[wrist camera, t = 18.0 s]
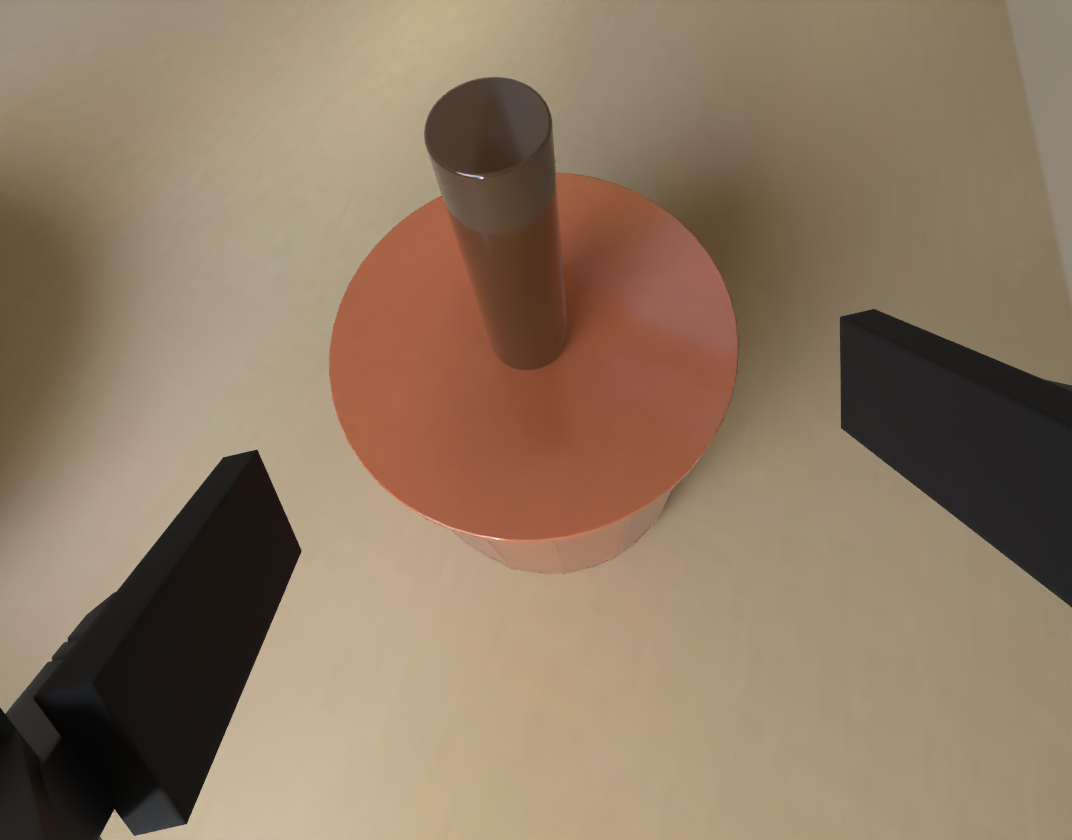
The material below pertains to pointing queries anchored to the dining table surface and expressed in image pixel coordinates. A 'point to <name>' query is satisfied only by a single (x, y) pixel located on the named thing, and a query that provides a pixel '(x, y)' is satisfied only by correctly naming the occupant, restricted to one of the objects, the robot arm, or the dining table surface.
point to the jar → (570, 546)
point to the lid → (530, 337)
